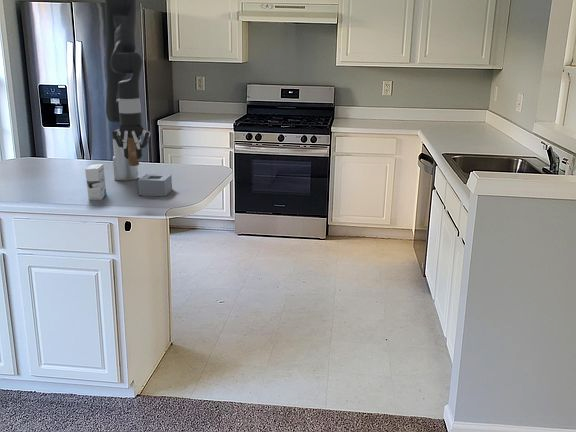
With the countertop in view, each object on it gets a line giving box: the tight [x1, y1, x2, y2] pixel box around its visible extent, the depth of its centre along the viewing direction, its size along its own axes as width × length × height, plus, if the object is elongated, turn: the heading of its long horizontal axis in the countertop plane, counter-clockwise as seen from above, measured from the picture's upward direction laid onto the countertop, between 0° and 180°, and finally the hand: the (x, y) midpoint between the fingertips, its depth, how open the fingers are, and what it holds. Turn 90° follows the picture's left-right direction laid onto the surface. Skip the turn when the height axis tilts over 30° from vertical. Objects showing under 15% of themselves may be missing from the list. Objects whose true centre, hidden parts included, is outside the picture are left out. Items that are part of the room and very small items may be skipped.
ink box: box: [85, 163, 107, 201], centre depth 210 cm, size 8×5×12 cm, turn 5°
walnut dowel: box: [127, 138, 140, 166], centre depth 203 cm, size 4×4×10 cm
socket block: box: [137, 173, 173, 197], centre depth 217 cm, size 10×10×6 cm
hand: (133, 158), depth 204 cm, fingers closed on walnut dowel, 3 cm apart
